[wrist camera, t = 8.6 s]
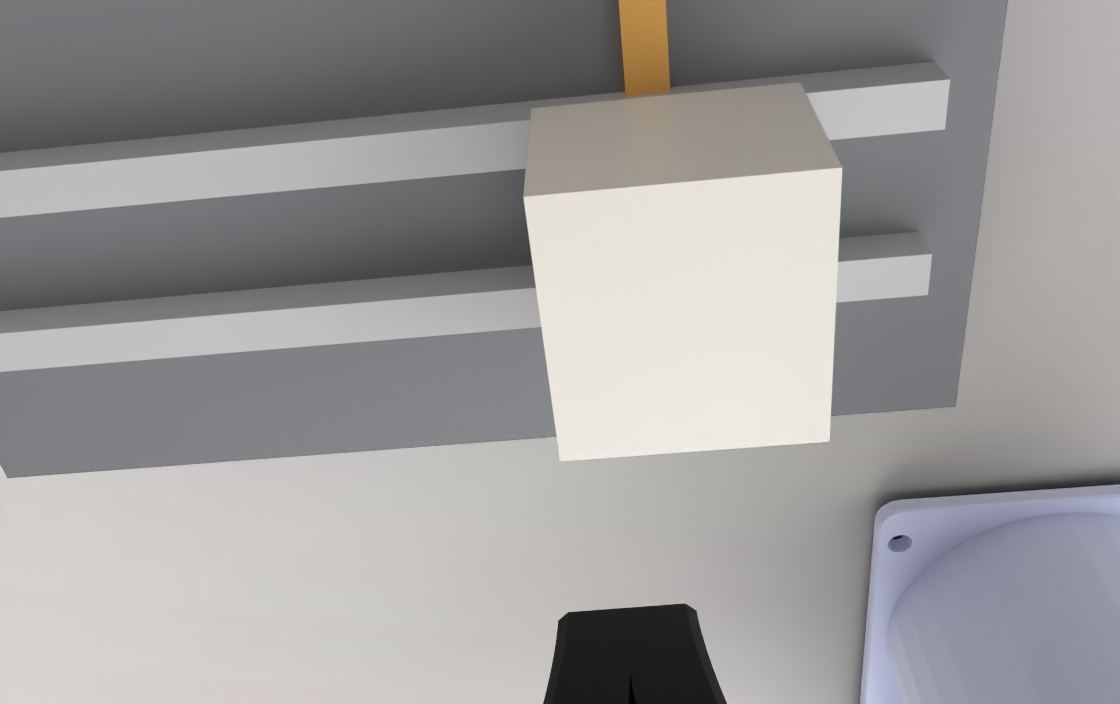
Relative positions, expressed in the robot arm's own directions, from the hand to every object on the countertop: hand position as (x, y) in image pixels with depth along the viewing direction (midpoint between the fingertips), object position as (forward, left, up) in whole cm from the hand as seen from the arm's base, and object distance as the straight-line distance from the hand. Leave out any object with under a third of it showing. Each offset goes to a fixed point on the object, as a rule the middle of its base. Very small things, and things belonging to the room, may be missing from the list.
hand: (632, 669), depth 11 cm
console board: (+1, +3, -10) cm, 11 cm away
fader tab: (+1, -1, -9) cm, 9 cm away
